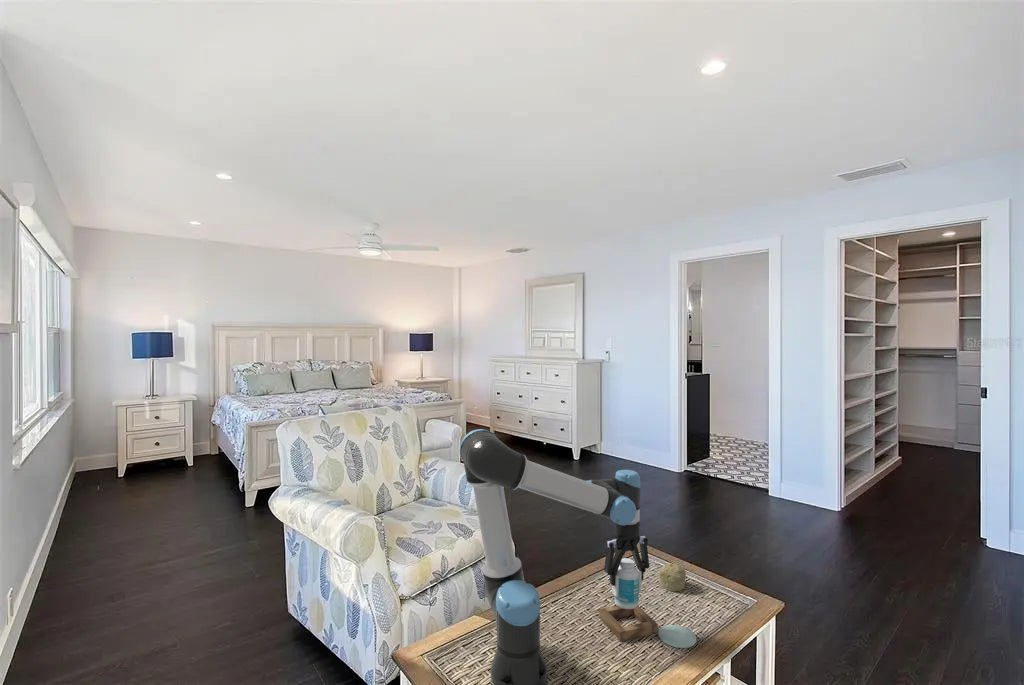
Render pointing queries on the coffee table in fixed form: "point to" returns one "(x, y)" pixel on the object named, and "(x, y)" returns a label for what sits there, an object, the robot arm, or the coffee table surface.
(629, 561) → the pill bottle
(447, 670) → the coffee table surface
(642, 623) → the walnut frame
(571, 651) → the coffee table surface
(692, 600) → the coffee table surface
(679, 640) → the coaster
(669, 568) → the decorative object
